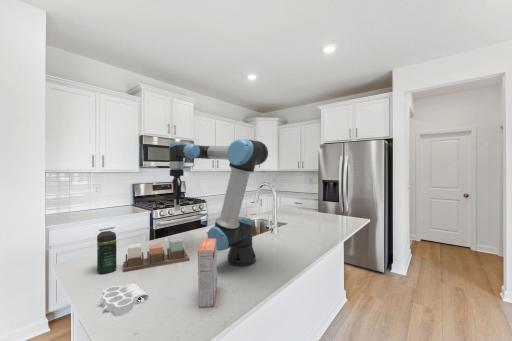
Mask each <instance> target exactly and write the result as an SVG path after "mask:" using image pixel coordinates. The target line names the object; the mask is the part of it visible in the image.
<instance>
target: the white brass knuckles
mask: <svg viewBox="0 0 512 341" xmlns="http://www.w3.org/2000/svg"><path fill="white" fill-rule="evenodd" d="M139 297H142V298H144V300H145V301H147V300H148V299H149V294H148V293H146V292H145V291H144V289H143V288H141V287H139V285H138V284H136V283H130V284H127V285H121V286H120V285H111V286H109V287H107V288H105V289H104V290H103V291H102V297H101V298H102V299H101V300H100V301H98V302H97V304H100V305H102V309H101V310H102V311H105V312H108V311H112V312H111V313H113V312H114V313H113V314H114V315H115V316H122V314H123V315H126V314H128V313H130V312H132V310H133V309H134V306H135V305H138V304H141V303H140V302H139V301H138V300H137V299H140V298H139ZM137 303H138V304H137ZM129 311H130V312H129ZM125 313H126V314H125Z"/></svg>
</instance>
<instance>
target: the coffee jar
mask: <svg viewBox="0 0 512 341" xmlns="http://www.w3.org/2000/svg"><path fill="white" fill-rule="evenodd" d="M96 237H97V238H96V246H97V247H96V249H97V250H96V259H97V260H96V261H97V262H96V265H97V267H96V268H97V273H99V274H110V273H112V272H114V271H116V270H117V233H116V232H114V231H111V230H105V231H100V233H98V234H97V236H96Z"/></svg>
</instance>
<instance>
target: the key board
mask: <svg viewBox="0 0 512 341" xmlns="http://www.w3.org/2000/svg"><path fill="white" fill-rule="evenodd" d="M166 250H167V251H166V252H167V253H166V252H165V249H164V248H163V253H162V254H156V255H149V250H147V252H146V255H147V256H146V257H145V258H144V251H141V257H137V258H130V259H128V253H126V254H125V261H123V263H122V264H123V266H122V272H123V273H126V272H133V271H138V270H144V269H149V268H155V267H161V266H166V265H172V264H177V263H182V262H188V261H190V256H189V255H188V253H187V252H186V250H185V248H184V247H183V250H181V251H175V252H170V250H169V247H167V248H166Z"/></svg>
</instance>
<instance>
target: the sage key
mask: <svg viewBox="0 0 512 341" xmlns="http://www.w3.org/2000/svg"><path fill="white" fill-rule="evenodd" d="M183 241H184V240H183V239H182V238H181V237H178V238H169V240H168V243H169V246H168V248H169V250H170V252H175V251H181V250H183V248H184V247H183V246H184V245H183V244H184V243H183Z"/></svg>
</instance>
